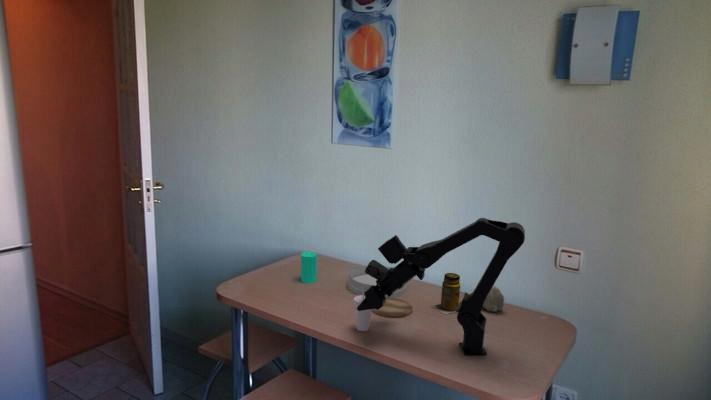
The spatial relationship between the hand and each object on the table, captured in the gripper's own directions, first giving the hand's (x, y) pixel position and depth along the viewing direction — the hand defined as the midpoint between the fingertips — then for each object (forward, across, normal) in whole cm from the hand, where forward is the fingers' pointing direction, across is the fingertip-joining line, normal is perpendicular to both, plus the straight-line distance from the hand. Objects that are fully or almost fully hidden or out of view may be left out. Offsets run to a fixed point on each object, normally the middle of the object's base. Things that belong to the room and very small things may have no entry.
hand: (362, 303), depth 152 cm
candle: (+28, -31, -16) cm, 45 cm away
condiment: (-10, -27, +22) cm, 36 cm away
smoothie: (+5, 0, +6) cm, 8 cm away
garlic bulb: (-20, -32, +31) cm, 49 cm away
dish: (+10, -36, +2) cm, 37 cm away
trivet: (+2, -18, +9) cm, 20 cm away
